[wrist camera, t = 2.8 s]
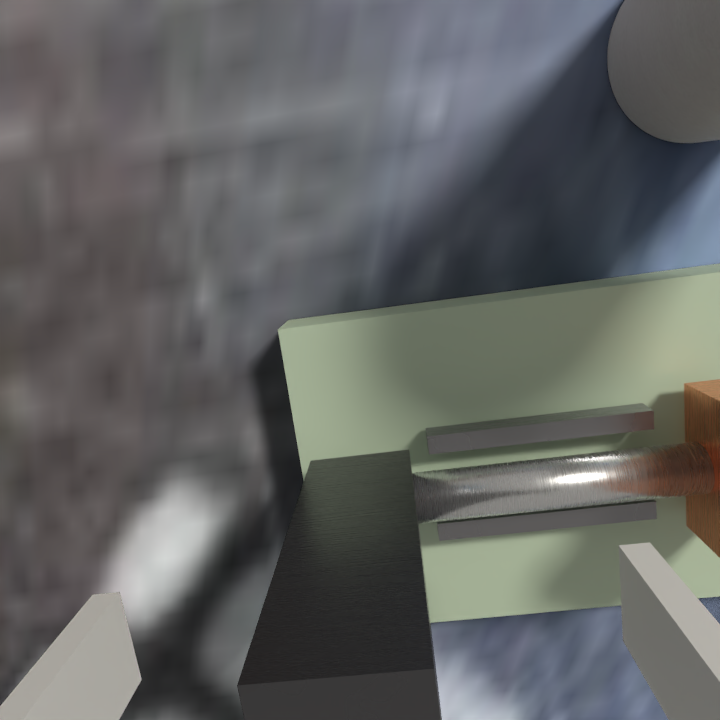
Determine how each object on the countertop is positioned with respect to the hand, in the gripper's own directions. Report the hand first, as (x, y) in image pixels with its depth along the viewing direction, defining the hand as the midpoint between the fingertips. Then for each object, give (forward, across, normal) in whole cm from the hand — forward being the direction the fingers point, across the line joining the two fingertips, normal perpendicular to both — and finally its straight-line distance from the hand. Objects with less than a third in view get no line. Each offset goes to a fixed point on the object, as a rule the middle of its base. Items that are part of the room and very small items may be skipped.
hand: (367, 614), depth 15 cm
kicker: (+7, +6, 0) cm, 9 cm away
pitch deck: (+10, +9, 0) cm, 13 cm away
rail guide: (+8, +6, 0) cm, 10 cm away
